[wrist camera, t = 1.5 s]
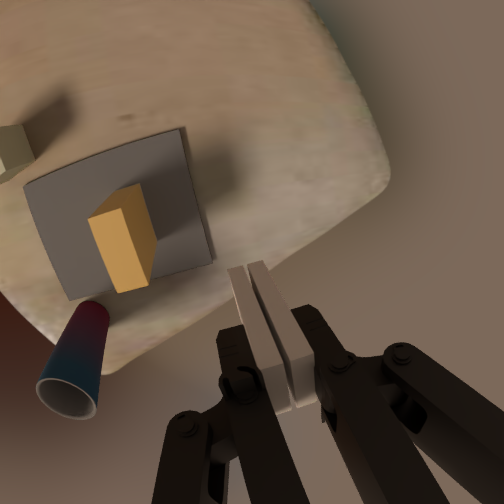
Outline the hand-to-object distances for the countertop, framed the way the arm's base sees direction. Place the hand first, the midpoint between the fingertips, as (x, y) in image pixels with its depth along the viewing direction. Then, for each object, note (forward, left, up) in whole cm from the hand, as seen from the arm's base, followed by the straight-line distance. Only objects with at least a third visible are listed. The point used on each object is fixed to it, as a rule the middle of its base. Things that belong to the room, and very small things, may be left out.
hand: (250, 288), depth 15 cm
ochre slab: (0, -9, -20) cm, 22 cm away
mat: (0, -12, -20) cm, 24 cm away
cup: (+11, -20, -21) cm, 31 cm away
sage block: (-12, -22, -21) cm, 33 cm away
